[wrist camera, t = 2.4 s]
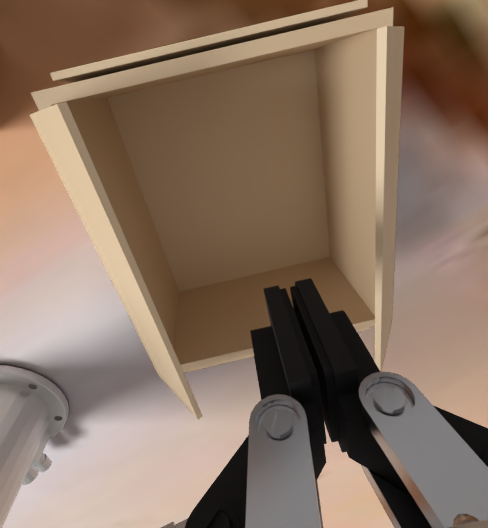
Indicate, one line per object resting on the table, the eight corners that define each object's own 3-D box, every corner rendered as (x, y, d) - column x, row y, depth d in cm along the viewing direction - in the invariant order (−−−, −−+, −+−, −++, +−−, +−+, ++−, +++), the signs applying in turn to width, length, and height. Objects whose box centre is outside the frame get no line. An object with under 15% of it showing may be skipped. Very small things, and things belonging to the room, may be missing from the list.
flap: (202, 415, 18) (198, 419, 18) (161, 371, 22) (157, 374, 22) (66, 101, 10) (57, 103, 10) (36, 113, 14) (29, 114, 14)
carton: (335, 262, 32) (386, 328, 23) (177, 299, 32) (167, 379, 23) (320, 28, 22) (396, -10, 13) (94, 81, 22) (23, 78, 13)
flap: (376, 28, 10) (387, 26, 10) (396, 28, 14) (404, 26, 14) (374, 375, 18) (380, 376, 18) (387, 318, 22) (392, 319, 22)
